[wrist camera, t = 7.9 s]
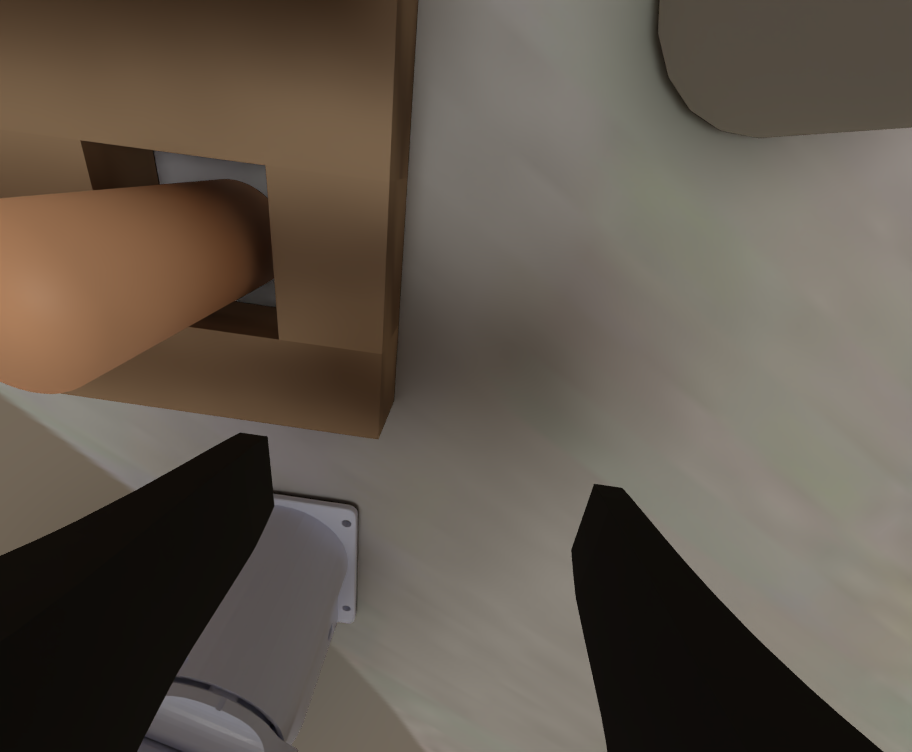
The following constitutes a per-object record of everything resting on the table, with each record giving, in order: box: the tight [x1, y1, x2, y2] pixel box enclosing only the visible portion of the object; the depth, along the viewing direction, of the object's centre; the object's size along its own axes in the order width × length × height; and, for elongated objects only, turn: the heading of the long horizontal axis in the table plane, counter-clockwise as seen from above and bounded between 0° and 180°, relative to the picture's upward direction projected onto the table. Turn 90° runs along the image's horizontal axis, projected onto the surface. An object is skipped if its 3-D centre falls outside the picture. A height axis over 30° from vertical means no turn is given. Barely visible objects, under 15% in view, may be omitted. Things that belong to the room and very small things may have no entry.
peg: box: [0, 179, 274, 394], centre depth 13 cm, size 4×4×9 cm
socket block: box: [0, 0, 418, 439], centre depth 12 cm, size 16×13×10 cm
